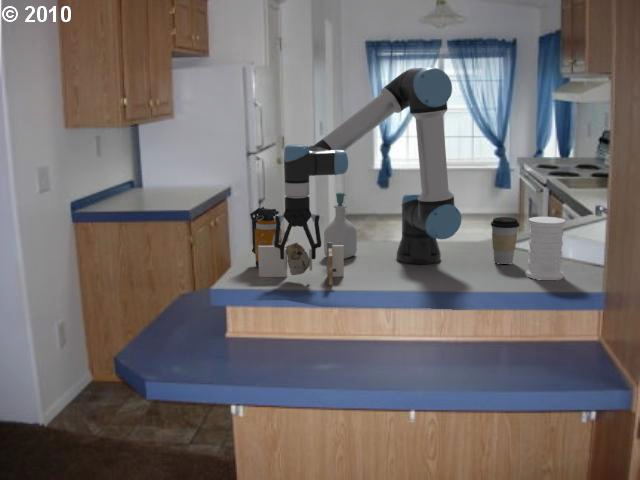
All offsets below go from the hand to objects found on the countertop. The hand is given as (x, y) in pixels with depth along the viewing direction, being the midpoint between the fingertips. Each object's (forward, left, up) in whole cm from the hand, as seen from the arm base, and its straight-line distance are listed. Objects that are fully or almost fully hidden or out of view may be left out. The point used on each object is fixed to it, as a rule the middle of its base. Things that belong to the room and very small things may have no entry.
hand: (298, 269), depth 228 cm
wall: (-1, -6, -4) cm, 7 cm away
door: (-11, +1, -3) cm, 11 cm away
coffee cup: (-68, -22, -4) cm, 72 cm away
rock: (0, 0, 0) cm, 1 cm away
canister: (+12, -20, -4) cm, 24 cm away
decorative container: (-77, -5, -4) cm, 77 cm away
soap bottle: (-13, -33, -4) cm, 36 cm away
